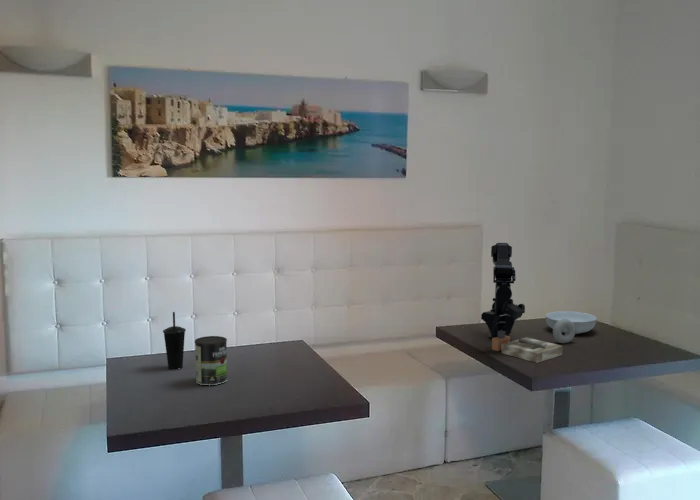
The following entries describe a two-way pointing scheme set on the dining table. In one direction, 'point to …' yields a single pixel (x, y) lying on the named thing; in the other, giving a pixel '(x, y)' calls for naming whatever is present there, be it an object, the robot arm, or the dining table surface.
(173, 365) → the drinking cup
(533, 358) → the grey square tray
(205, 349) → the coffee can
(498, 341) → the brown u-shaped block
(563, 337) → the donut
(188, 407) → the dining table surface
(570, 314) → the serving bowl
